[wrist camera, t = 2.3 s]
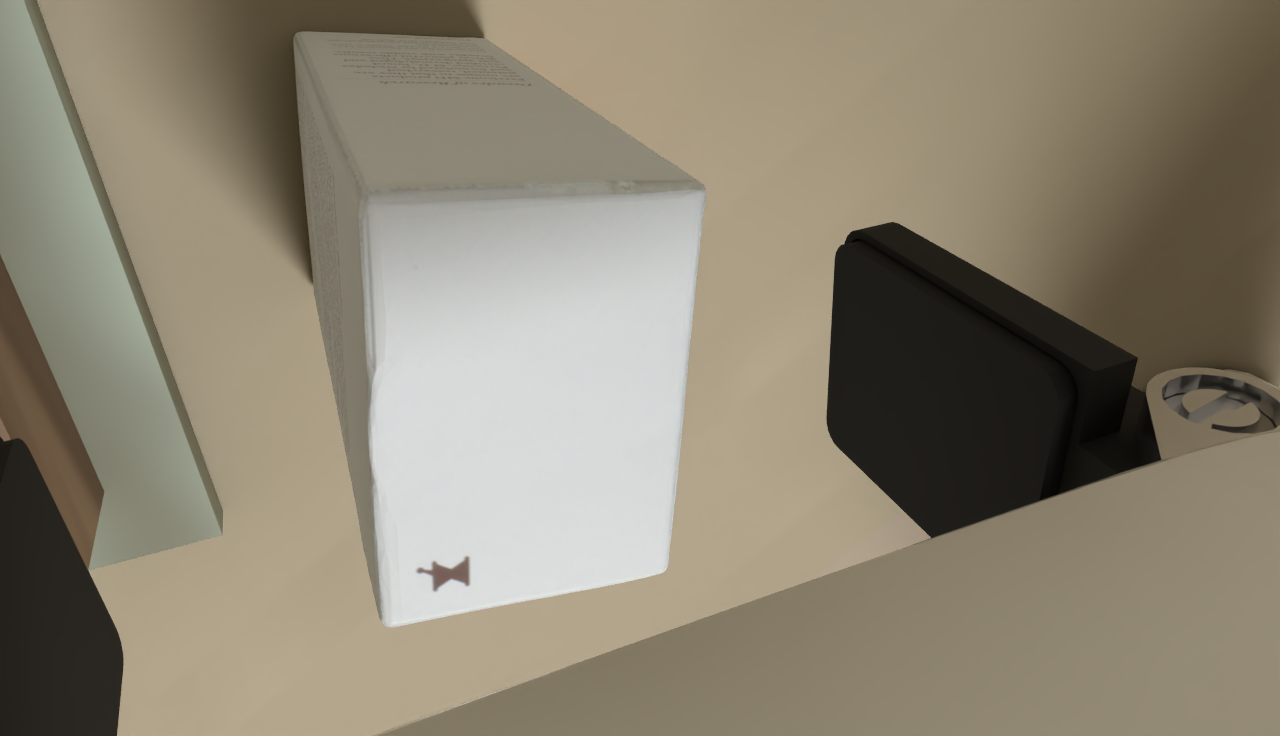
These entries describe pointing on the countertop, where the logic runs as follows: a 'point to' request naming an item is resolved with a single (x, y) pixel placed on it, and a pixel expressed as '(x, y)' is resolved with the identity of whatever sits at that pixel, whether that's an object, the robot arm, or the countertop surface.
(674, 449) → the skincare box
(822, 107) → the countertop surface
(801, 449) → the countertop surface
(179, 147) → the countertop surface
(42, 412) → the socket holder
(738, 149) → the countertop surface
